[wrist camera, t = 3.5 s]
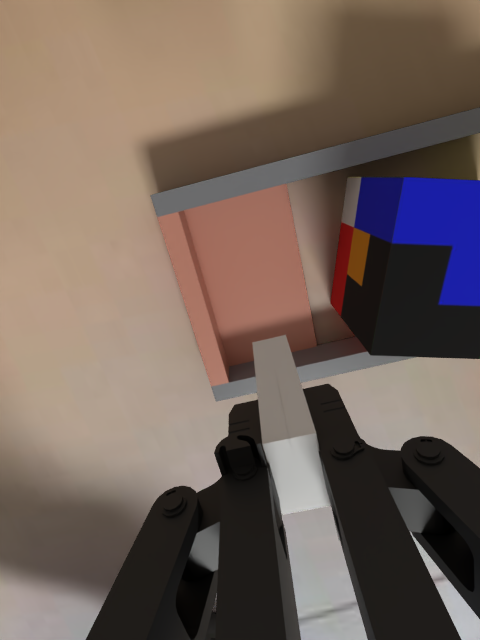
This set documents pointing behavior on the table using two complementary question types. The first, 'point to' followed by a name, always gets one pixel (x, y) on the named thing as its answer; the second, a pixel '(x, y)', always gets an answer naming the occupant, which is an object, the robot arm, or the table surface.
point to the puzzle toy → (410, 266)
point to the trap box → (268, 258)
